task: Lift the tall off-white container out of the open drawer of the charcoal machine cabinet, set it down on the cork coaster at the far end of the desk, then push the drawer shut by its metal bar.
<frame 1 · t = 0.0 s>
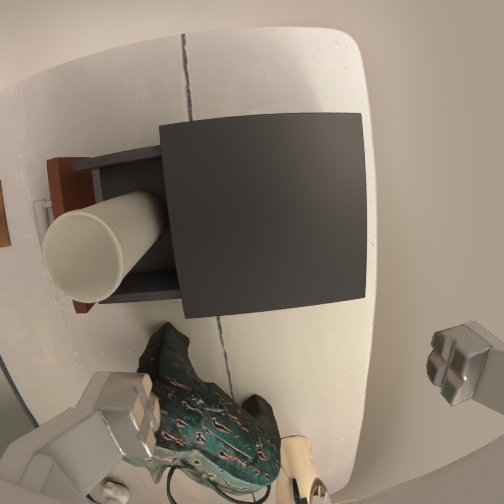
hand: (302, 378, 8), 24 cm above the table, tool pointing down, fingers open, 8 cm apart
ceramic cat: (213, 370, 36), on the table
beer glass: (290, 447, 41), on the table
drawer: (118, 225, 26), point 4 cm above the table, slide at 9.0 cm, touching container
cabinet: (260, 202, 31), on the table
container: (139, 218, 28), point 2 cm above the table, touching drawer
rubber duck: (117, 483, 42), on the table
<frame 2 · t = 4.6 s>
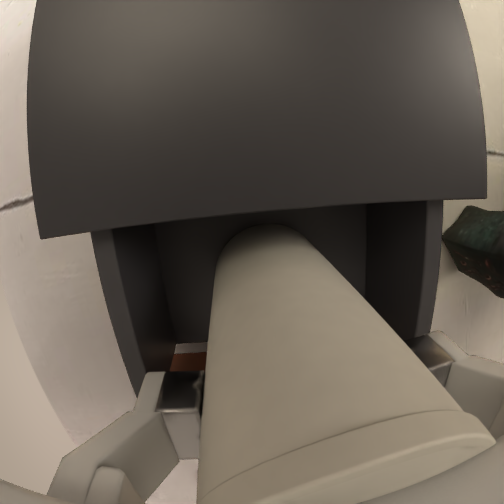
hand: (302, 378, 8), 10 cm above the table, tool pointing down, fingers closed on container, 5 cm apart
drawer: (276, 322, 14), point 4 cm above the table, slide at 9.0 cm, touching container
cabinet: (245, 56, 14), on the table
container: (268, 275, 16), point 2 cm above the table, touching drawer, gripper
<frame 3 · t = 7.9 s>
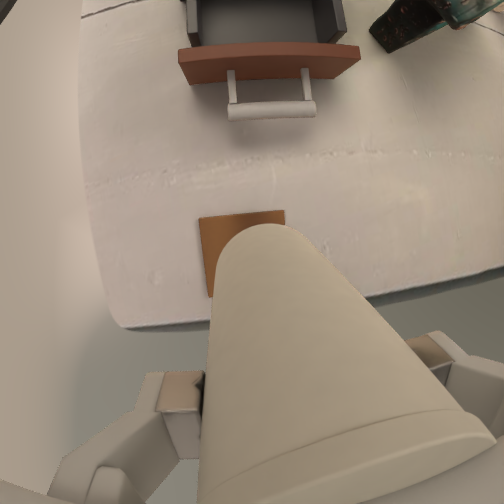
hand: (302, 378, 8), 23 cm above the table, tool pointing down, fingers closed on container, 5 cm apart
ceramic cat: (415, 13, 25), on the table
drawer: (263, 22, 21), point 4 cm above the table, slide at 9.0 cm
container: (268, 275, 16), point 15 cm above the table, touching gripper
coaster: (244, 254, 31), on the table
when the fingers open (9 cm above the table, at t = 11.7 s): container stays where it is, resting on coaster.
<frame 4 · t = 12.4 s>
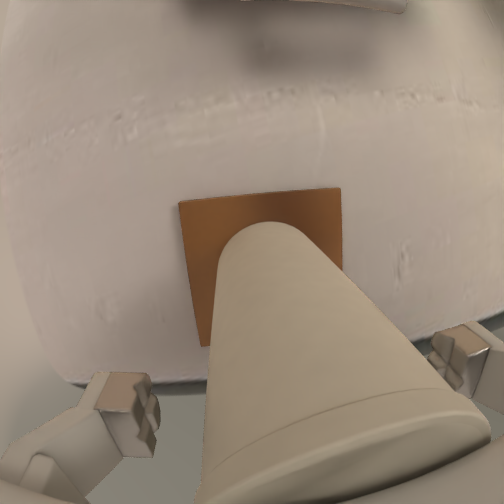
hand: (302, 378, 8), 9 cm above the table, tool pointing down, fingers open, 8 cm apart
container: (269, 272, 16), resting on coaster
coaster: (266, 270, 16), on the table
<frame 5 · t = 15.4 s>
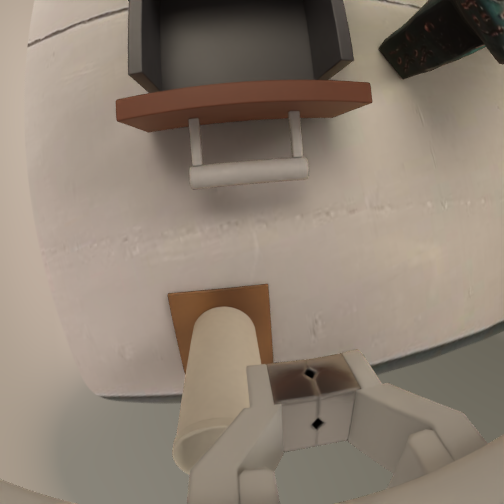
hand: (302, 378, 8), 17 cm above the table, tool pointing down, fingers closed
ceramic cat: (433, 25, 20), on the table
drawer: (238, 45, 16), point 4 cm above the table, slide at 9.0 cm
container: (224, 334, 26), resting on coaster
coaster: (223, 332, 26), on the table
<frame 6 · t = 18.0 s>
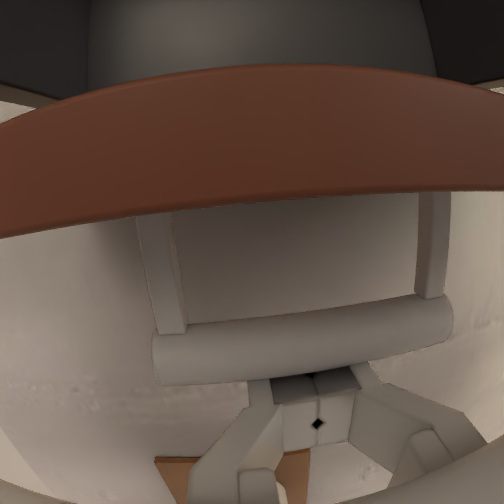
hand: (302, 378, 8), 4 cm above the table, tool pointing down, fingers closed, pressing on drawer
coaster: (239, 491, 15), on the table
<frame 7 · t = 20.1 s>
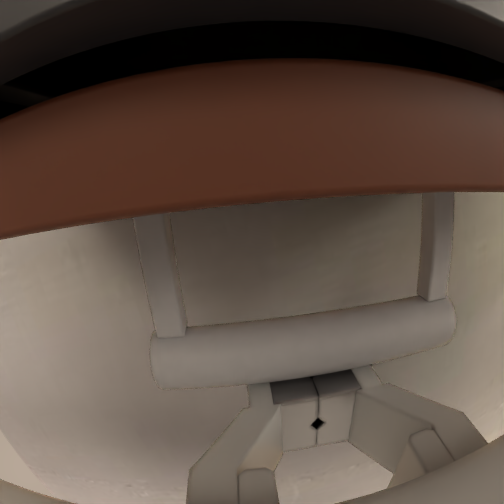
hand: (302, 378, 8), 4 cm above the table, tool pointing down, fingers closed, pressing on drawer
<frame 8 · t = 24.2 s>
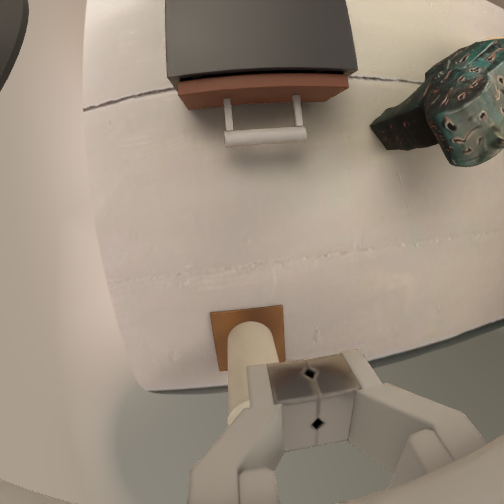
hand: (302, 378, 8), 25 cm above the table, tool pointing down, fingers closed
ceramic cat: (418, 96, 30), on the table
drawer: (257, 49, 24), point 4 cm above the table, slide at 0.2 cm
cabinet: (250, 30, 27), on the table
container: (250, 340, 35), resting on coaster
coaster: (249, 339, 36), on the table
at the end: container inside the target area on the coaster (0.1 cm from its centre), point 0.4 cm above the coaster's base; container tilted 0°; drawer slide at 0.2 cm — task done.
